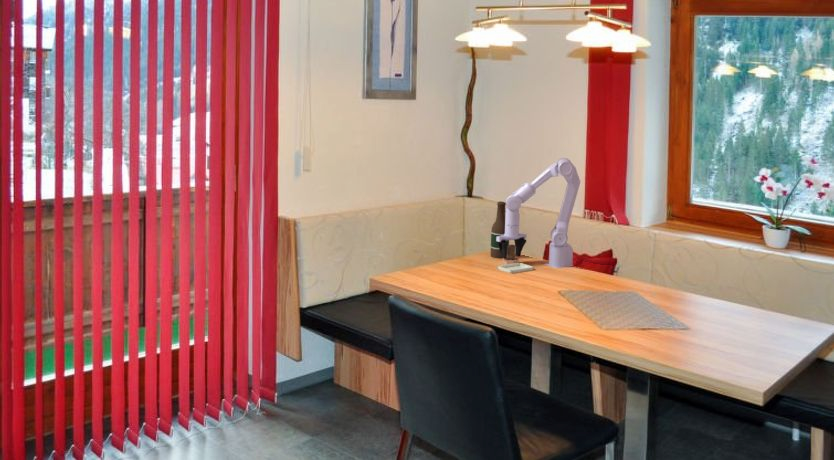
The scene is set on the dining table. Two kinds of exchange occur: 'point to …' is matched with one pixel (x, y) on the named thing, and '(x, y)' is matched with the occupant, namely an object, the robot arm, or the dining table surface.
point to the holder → (510, 261)
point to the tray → (515, 268)
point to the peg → (511, 252)
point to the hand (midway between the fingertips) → (510, 257)
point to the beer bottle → (498, 230)
